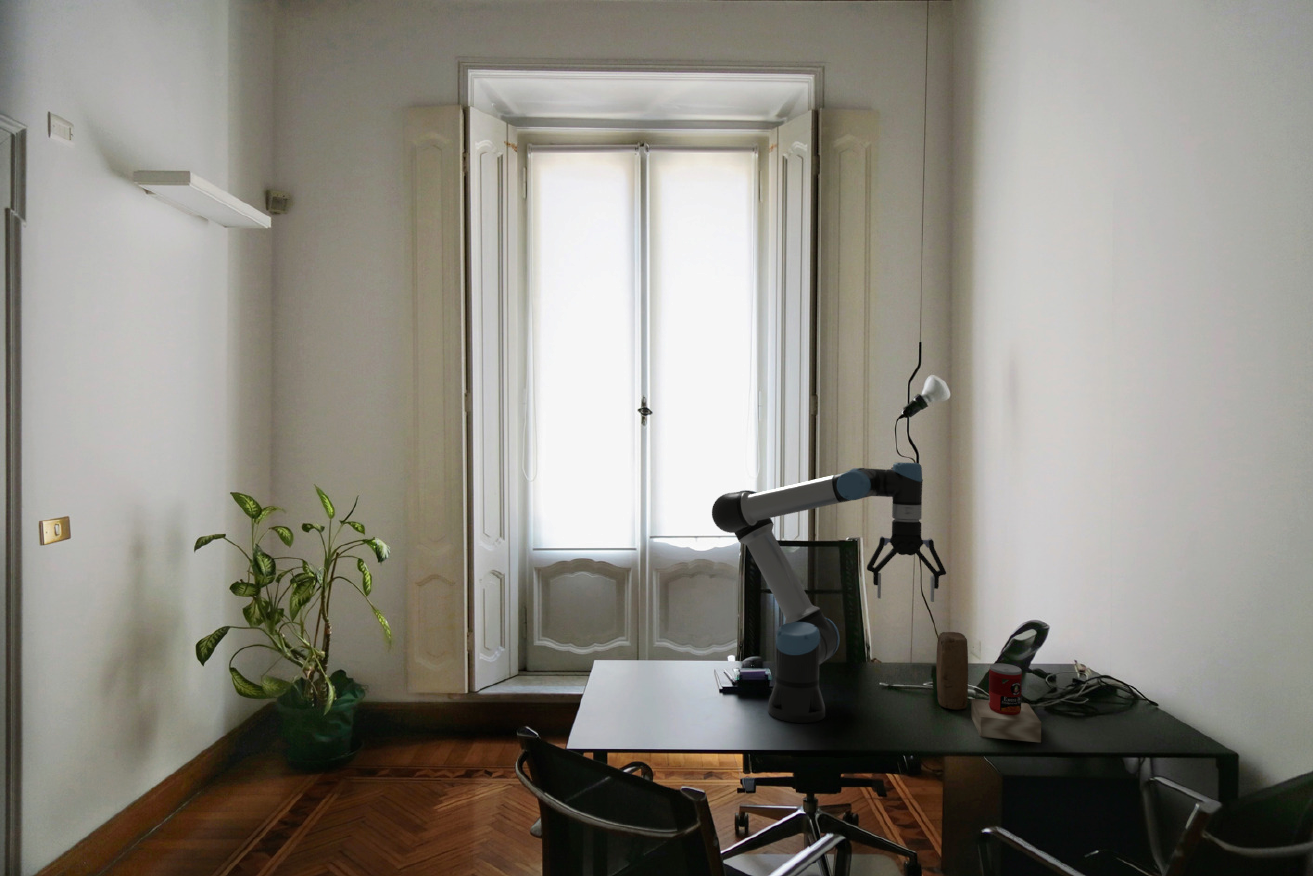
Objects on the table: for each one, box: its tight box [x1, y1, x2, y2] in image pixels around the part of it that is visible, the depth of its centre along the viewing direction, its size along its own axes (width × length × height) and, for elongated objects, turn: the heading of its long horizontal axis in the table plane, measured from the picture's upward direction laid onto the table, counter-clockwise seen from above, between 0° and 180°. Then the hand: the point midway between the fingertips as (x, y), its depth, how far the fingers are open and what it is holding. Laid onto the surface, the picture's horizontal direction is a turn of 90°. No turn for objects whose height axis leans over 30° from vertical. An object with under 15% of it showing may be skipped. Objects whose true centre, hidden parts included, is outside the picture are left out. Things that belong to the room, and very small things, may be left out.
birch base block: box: [970, 698, 1042, 744], centre depth 201 cm, size 14×14×5 cm
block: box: [935, 631, 969, 711], centre depth 220 cm, size 11×8×20 cm
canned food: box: [988, 662, 1023, 715], centre depth 201 cm, size 8×8×11 cm
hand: (905, 599), depth 209 cm, fingers open, 13 cm apart
